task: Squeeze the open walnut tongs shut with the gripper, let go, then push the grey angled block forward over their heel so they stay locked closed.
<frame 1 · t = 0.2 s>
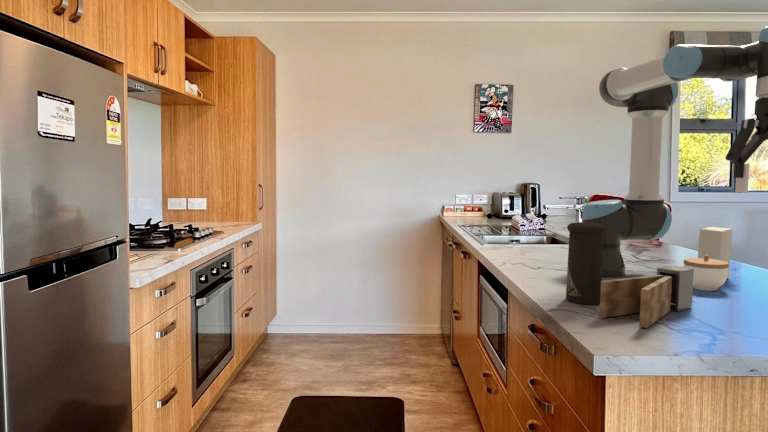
container: (583, 301, 127), on the worktop
grey angled block: (674, 287, 121), point 5 cm above the worktop, slide at 0.0 cm
lidded jar: (704, 289, 142), on the worktop
skincare box: (713, 279, 155), on the worktop
tong arm 2: (656, 300, 111), point 4 cm above the worktop, hinge at 12.0°
tong arm 1: (632, 295, 115), point 4 cm above the worktop, hinge at -12.0°
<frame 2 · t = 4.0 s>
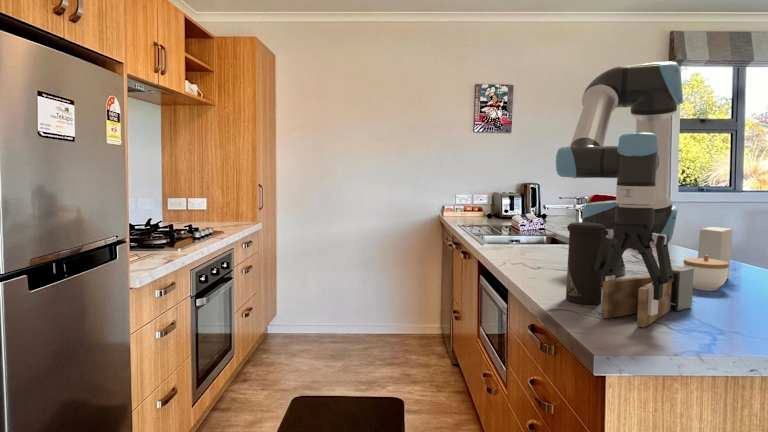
hand: (630, 309, 110), 3 cm above the worktop, tool pointing down, fingers open, 9 cm apart
tong arm 2: (655, 300, 111), point 4 cm above the worktop, hinge at 10.5°, touching gripper
tong arm 1: (633, 295, 115), point 4 cm above the worktop, hinge at -10.1°, touching gripper
everything else where it was.
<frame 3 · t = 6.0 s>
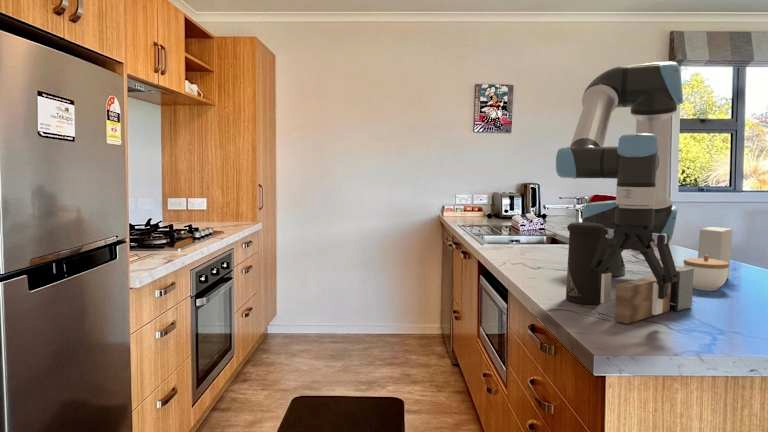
hand: (630, 307, 110), 3 cm above the worktop, tool pointing down, fingers open, 11 cm apart
tong arm 2: (647, 298, 112), point 4 cm above the worktop, hinge at 0.0°
tong arm 1: (640, 297, 113), point 4 cm above the worktop, hinge at 0.3°
everything else where it was.
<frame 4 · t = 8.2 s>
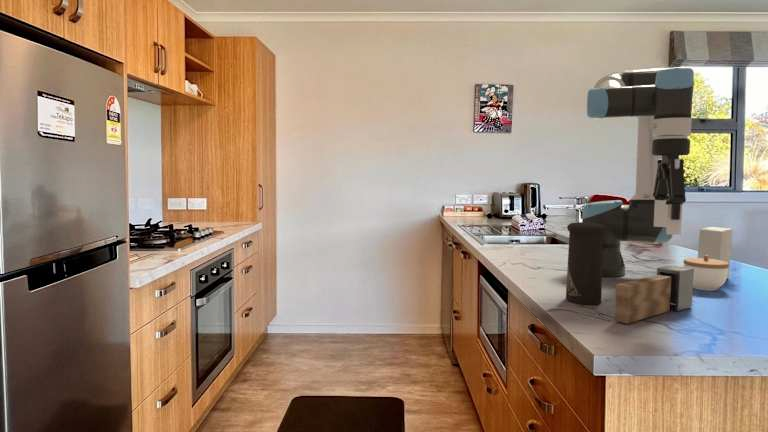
hand: (666, 230, 117), 19 cm above the worktop, tool pointing down, fingers open, 13 cm apart
nothing on the worktop moved.
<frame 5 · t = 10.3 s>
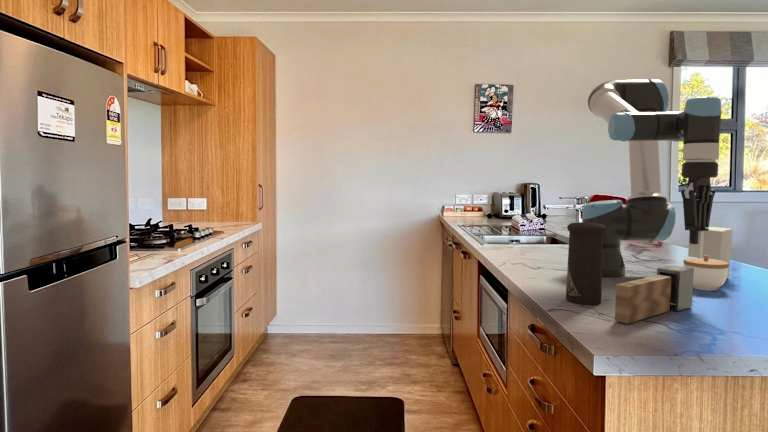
hand: (695, 256, 125), 12 cm above the worktop, tool pointing down, fingers closed
nothing on the worktop moved.
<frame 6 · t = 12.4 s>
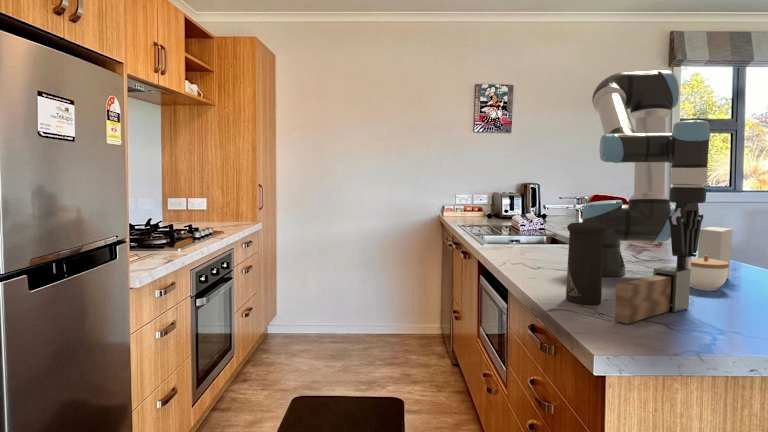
hand: (682, 283, 123), 6 cm above the worktop, tool pointing down, fingers closed
grey angled block: (671, 288, 120), point 5 cm above the worktop, slide at 1.6 cm, touching gripper
everything else where it was.
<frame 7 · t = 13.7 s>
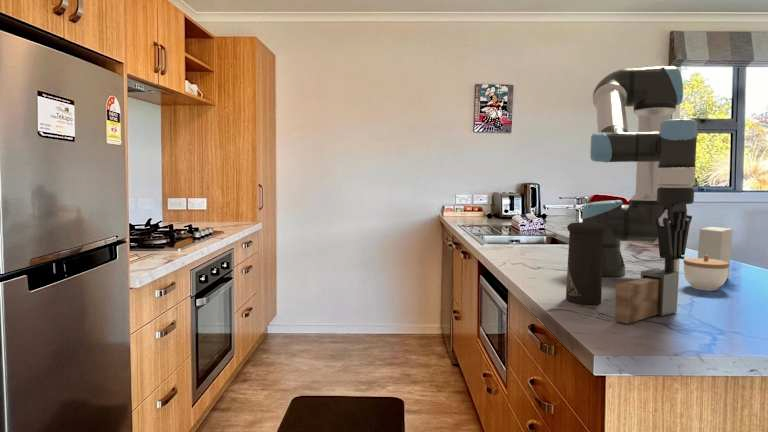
hand: (670, 286, 119), 6 cm above the worktop, tool pointing down, fingers closed
grey angled block: (658, 291, 117), point 5 cm above the worktop, slide at 7.3 cm, touching gripper
everything else where it was.
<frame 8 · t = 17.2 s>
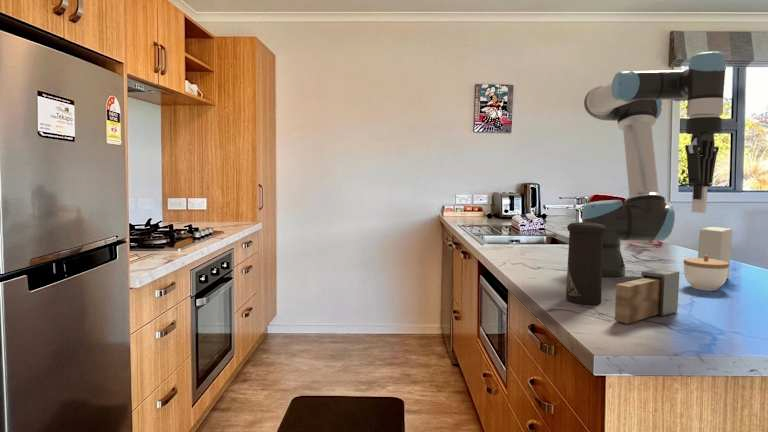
hand: (698, 212, 127), 22 cm above the worktop, tool pointing down, fingers closed
grey angled block: (659, 291, 117), point 5 cm above the worktop, slide at 7.0 cm
everything else where it was.
at the end: tong arm 2 at +0° (first picture: +12°); tong arm 1 at +0° (first picture: -12°); grey angled block slide at 7.0 cm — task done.
